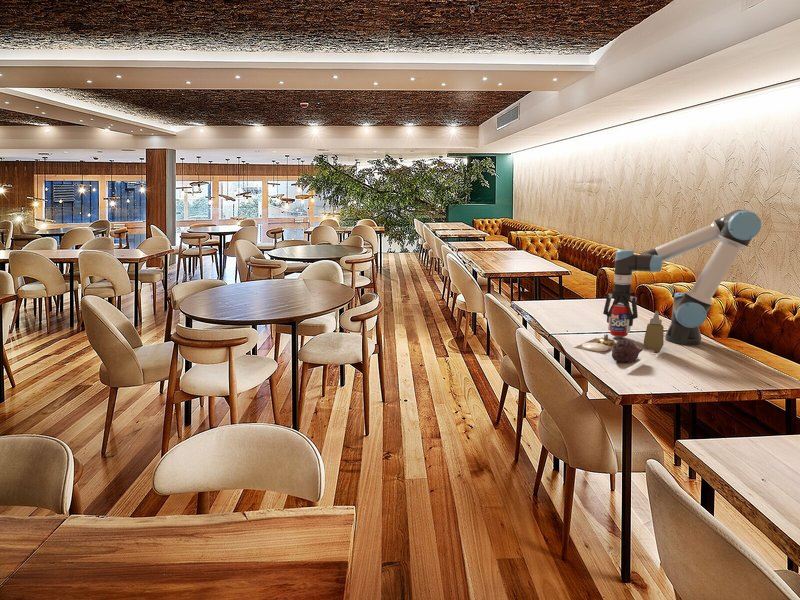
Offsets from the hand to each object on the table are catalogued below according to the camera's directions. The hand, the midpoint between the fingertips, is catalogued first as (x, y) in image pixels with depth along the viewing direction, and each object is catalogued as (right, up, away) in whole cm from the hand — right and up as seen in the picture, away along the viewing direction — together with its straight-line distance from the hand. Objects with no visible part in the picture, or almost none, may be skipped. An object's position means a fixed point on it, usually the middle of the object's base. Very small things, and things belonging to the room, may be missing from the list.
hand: (619, 331), depth 252 cm
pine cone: (-11, -12, -32) cm, 36 cm away
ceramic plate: (-17, -6, -16) cm, 24 cm away
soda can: (0, -2, 0) cm, 3 cm away
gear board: (-14, -7, -12) cm, 20 cm away
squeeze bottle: (+9, -8, -15) cm, 19 cm away
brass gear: (-10, -5, -8) cm, 14 cm away
